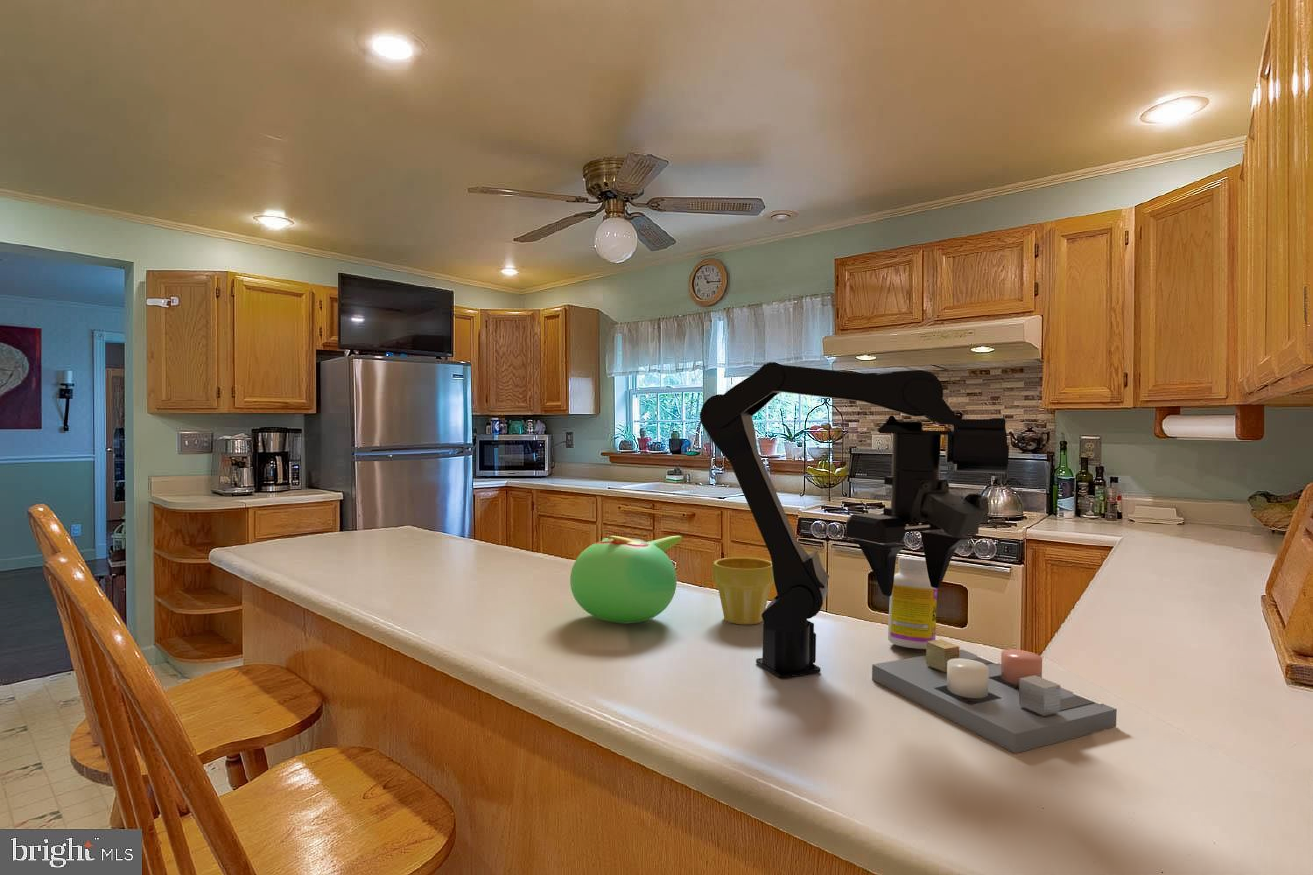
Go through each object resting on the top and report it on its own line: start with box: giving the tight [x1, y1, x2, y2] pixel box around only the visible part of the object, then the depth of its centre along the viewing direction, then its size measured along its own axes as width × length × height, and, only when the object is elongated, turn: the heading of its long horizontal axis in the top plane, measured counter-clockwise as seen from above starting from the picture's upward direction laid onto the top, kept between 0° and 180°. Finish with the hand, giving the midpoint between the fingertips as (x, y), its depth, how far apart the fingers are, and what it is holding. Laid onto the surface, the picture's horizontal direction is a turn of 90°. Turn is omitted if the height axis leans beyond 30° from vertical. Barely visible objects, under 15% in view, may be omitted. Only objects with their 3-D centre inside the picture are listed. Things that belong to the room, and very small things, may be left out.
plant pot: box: [712, 556, 775, 626], centre depth 113 cm, size 10×10×10 cm
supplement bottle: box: [887, 556, 938, 650], centre depth 100 cm, size 7×7×13 cm
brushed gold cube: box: [925, 638, 960, 672], centre depth 85 cm, size 2×3×3 cm
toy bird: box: [569, 535, 683, 624], centre depth 112 cm, size 18×17×15 cm
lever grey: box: [1018, 675, 1061, 716], centre depth 73 cm, size 2×3×3 cm
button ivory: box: [947, 658, 989, 698], centre depth 78 cm, size 4×4×3 cm
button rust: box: [1000, 648, 1043, 685], centre depth 81 cm, size 4×4×3 cm
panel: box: [871, 649, 1118, 754], centre depth 80 cm, size 16×21×2 cm
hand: (911, 591), depth 85 cm, fingers open, 9 cm apart
